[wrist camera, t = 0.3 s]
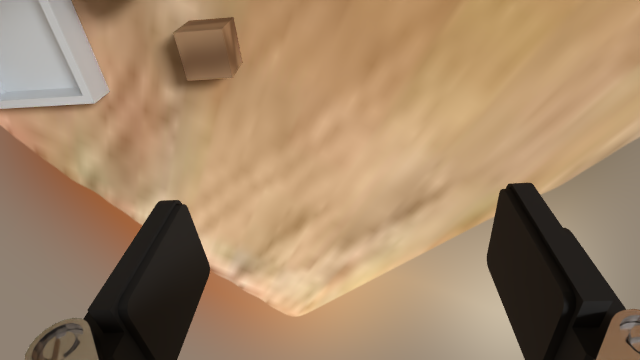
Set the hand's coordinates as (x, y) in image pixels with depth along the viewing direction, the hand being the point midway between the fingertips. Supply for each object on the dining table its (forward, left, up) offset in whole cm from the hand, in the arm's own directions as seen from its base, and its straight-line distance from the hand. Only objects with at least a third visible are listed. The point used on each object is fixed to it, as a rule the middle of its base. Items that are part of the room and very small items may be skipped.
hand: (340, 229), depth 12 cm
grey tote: (-1, -37, -35) cm, 51 cm away
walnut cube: (+3, -15, -35) cm, 38 cm away
